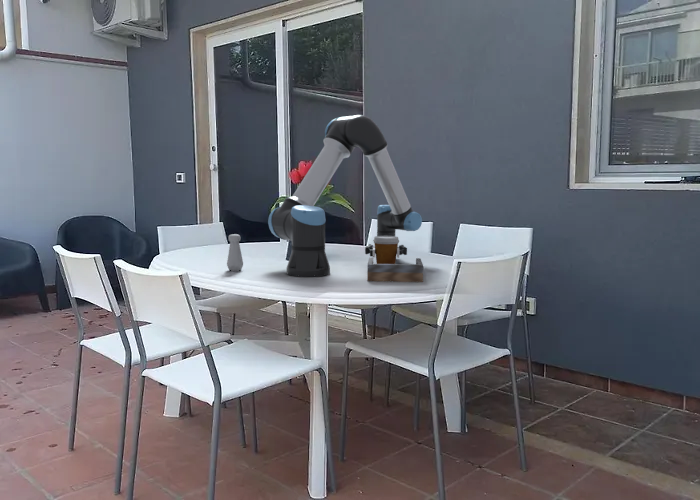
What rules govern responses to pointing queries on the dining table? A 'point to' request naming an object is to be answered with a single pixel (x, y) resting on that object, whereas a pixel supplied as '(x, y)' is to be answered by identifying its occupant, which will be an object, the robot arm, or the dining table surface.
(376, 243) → the disposable coffee cup
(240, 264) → the salt shaker
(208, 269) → the dining table surface
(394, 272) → the dock
